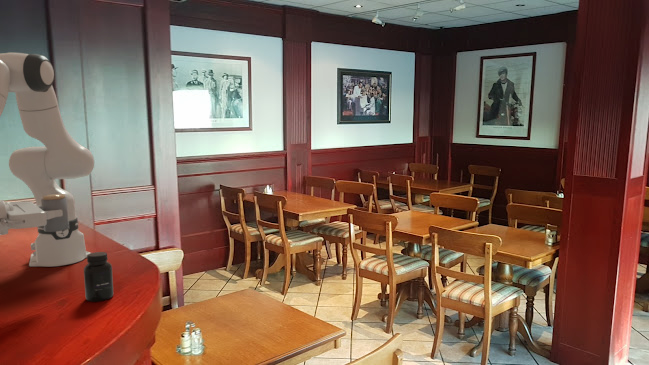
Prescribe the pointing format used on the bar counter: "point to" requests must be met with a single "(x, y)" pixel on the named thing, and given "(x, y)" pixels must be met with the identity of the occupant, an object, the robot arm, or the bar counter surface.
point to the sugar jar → (51, 204)
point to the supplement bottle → (98, 277)
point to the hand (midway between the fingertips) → (58, 210)
